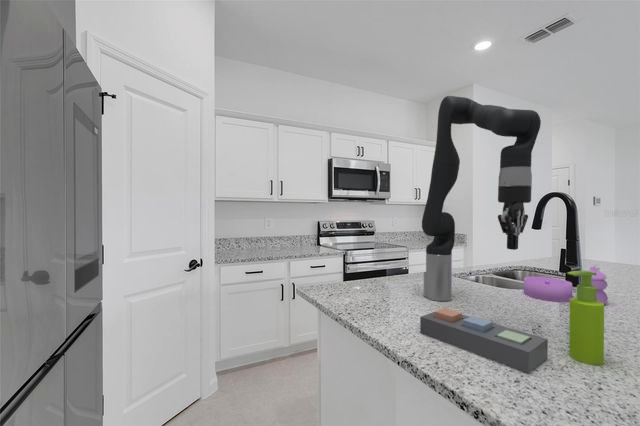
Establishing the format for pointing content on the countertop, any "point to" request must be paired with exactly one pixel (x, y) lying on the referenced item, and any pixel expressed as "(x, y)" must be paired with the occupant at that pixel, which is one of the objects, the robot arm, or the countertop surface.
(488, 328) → the slate blue button
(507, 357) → the button panel
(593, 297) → the soap dispenser
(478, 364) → the countertop surface
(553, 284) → the container set
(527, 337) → the sage green button
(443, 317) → the terracotta button
